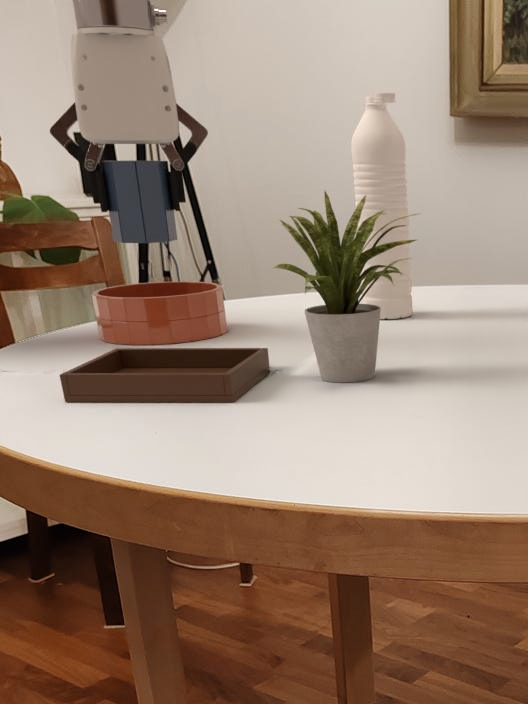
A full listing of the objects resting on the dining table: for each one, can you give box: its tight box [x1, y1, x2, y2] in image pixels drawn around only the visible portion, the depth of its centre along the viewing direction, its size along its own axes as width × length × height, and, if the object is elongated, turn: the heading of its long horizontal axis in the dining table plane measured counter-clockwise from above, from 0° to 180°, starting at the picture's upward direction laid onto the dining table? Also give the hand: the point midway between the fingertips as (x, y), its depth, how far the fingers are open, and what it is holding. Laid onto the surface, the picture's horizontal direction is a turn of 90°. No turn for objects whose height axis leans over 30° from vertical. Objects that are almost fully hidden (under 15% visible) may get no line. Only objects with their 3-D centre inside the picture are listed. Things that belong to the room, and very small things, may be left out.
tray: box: [59, 347, 271, 403], centre depth 91 cm, size 15×12×2 cm
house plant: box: [272, 190, 422, 383], centre depth 89 cm, size 14×14×16 cm
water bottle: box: [350, 92, 414, 320], centre depth 120 cm, size 9×6×25 cm
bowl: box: [91, 280, 228, 346], centre depth 113 cm, size 14×14×6 cm
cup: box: [100, 160, 178, 244], centre depth 108 cm, size 6×6×8 cm
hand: (141, 209), depth 108 cm, fingers closed on cup, 6 cm apart
